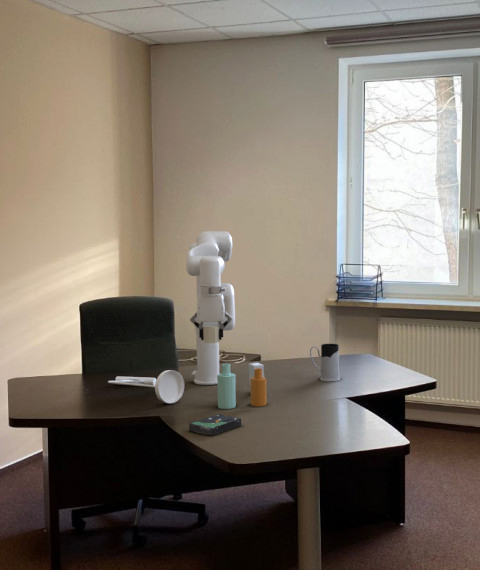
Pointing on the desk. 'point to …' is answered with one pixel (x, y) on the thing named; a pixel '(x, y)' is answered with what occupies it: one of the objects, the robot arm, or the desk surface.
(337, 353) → the glass holder
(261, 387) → the amber bottle
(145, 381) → the desk lamp
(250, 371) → the cosmetic box
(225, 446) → the desk surface
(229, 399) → the bottle
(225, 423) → the disk drive
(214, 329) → the cream short cylinder
